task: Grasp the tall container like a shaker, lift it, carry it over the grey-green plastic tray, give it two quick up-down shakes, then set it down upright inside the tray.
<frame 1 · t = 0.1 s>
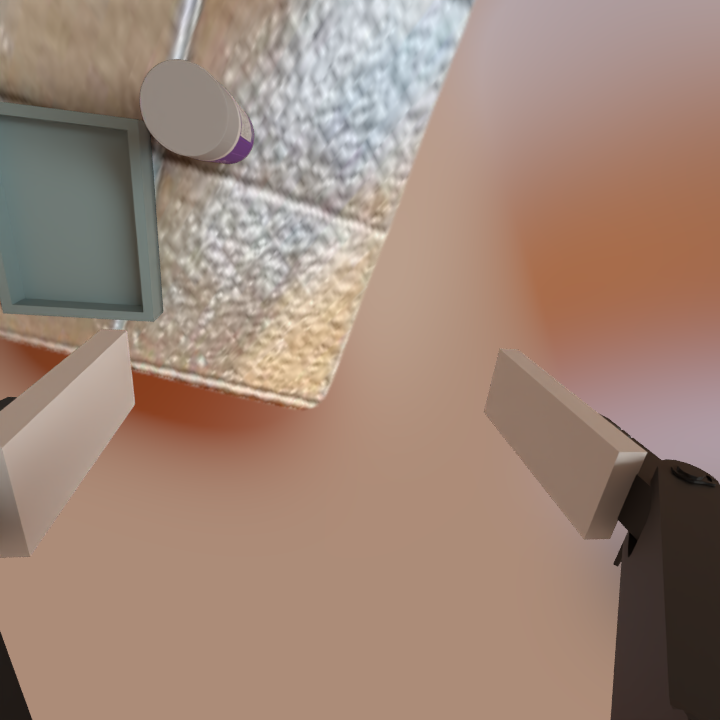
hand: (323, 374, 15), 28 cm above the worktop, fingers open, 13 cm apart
tray: (83, 218, 37), on the worktop
container: (226, 133, 36), on the worktop
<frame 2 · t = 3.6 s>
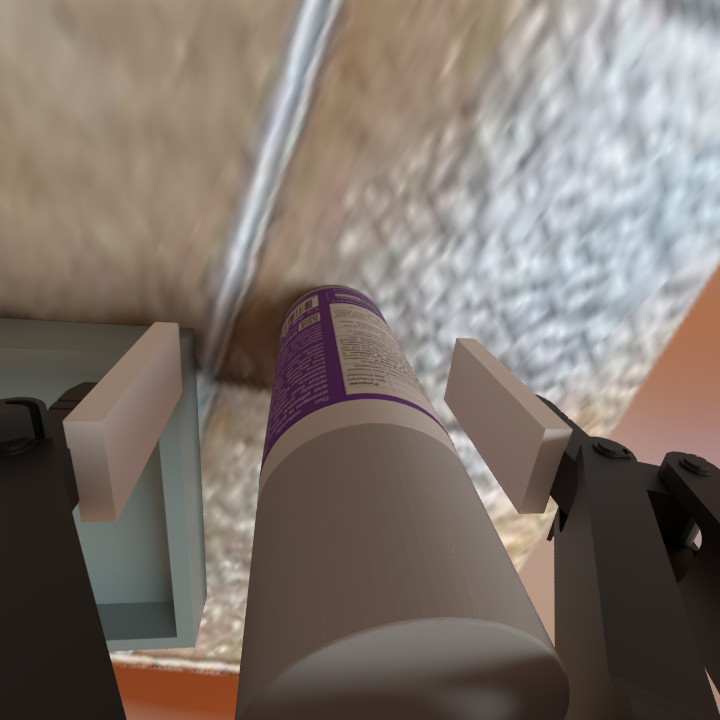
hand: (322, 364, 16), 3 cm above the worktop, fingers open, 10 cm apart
tray: (70, 479, 21), on the worktop
container: (333, 334, 19), on the worktop
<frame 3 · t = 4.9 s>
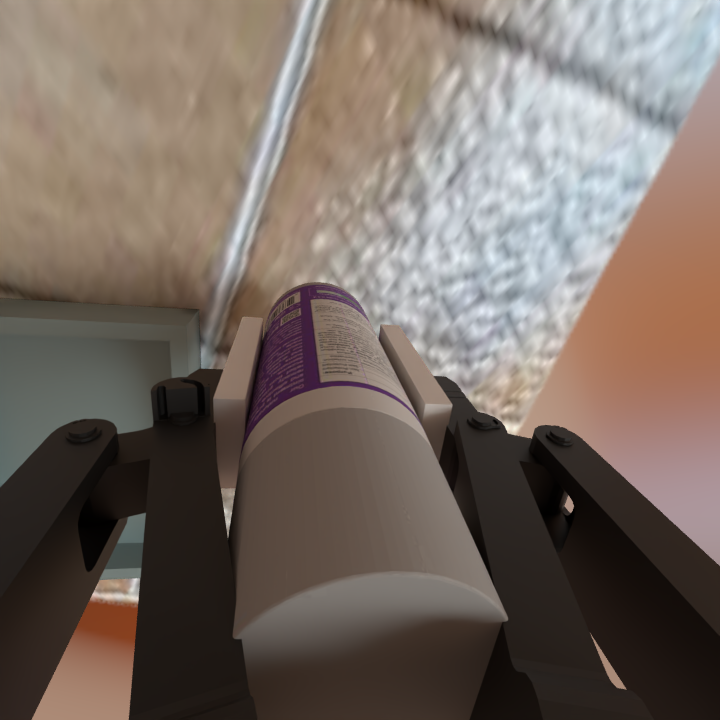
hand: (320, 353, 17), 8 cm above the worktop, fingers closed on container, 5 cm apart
tray: (96, 435, 25), on the worktop
container: (317, 330, 20), point 5 cm above the worktop, touching gripper
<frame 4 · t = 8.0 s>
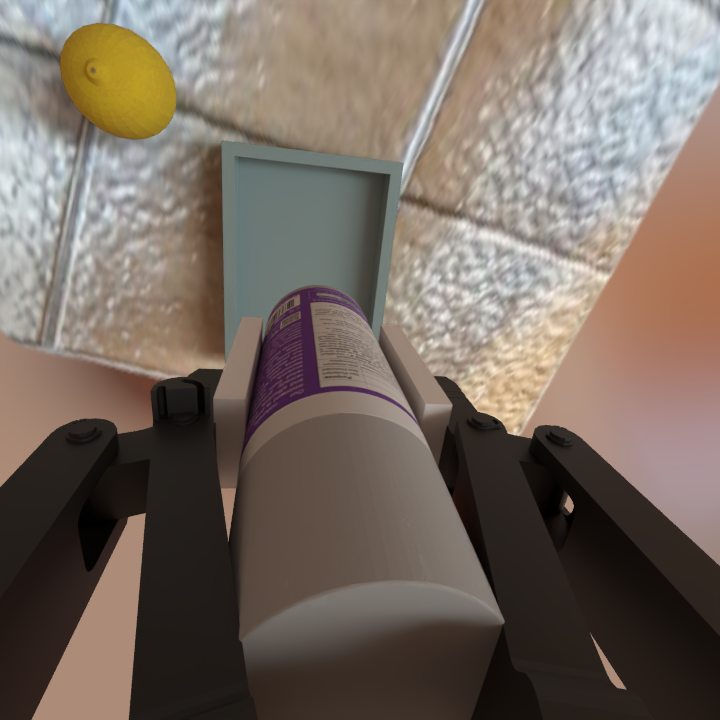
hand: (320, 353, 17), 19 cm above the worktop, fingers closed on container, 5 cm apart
lemon: (145, 97, 29), on the worktop
tray: (307, 264, 34), on the worktop
container: (317, 333, 20), point 16 cm above the worktop, touching gripper
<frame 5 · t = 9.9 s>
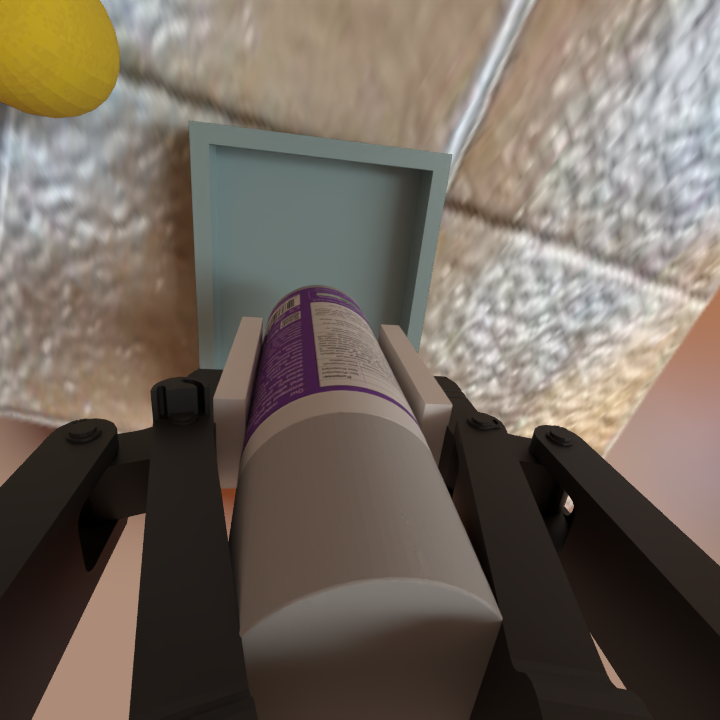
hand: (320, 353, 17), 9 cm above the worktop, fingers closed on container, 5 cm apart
lemon: (81, 58, 20), on the worktop
tray: (313, 292, 25), on the worktop
container: (317, 333, 20), point 6 cm above the worktop, touching gripper
when the fingers open (4 cm above the worktop, at t = 11.5 s): container stays where it is, resting on tray.
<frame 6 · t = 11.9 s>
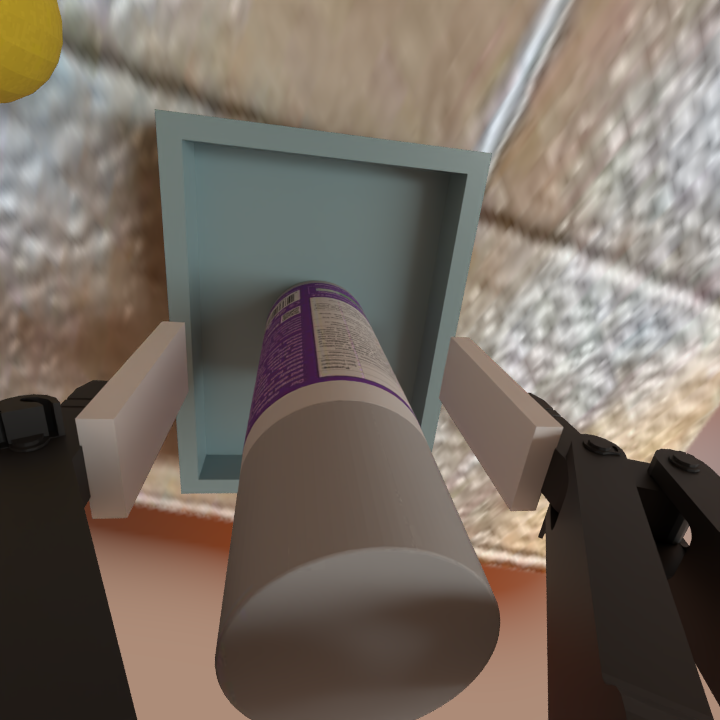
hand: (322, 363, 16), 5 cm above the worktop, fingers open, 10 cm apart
lemon: (20, 31, 16), on the worktop
tray: (316, 320, 21), on the worktop
container: (316, 327, 20), point 1 cm above the worktop, touching tray
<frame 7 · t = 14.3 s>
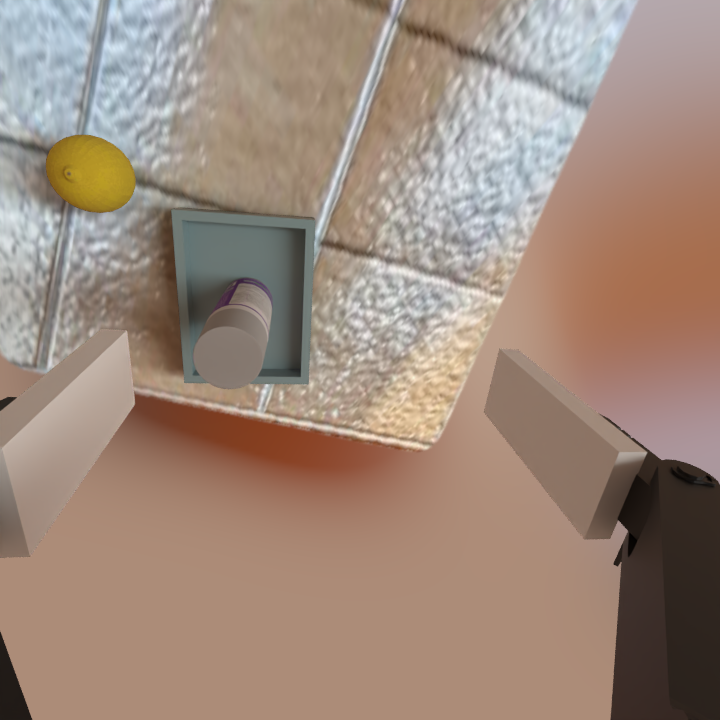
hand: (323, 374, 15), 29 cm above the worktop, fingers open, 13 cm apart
lemon: (113, 175, 37), on the worktop
tray: (249, 297, 43), on the worktop
container: (248, 300, 42), point 1 cm above the worktop, touching tray
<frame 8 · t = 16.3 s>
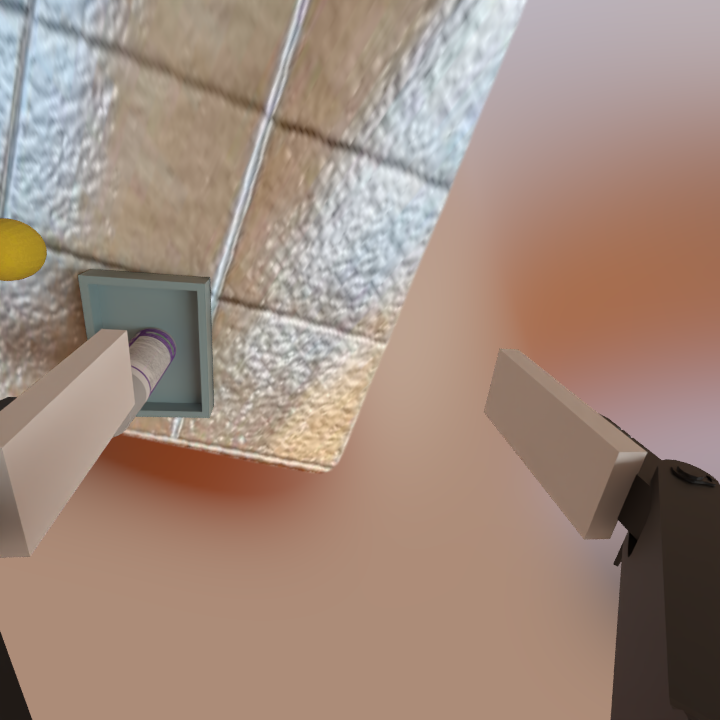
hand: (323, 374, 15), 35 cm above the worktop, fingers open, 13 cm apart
lemon: (32, 243, 44), on the worktop
tray: (157, 342, 49), on the worktop
container: (155, 346, 49), point 1 cm above the worktop, touching tray
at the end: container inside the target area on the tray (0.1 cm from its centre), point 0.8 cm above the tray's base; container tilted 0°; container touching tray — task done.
